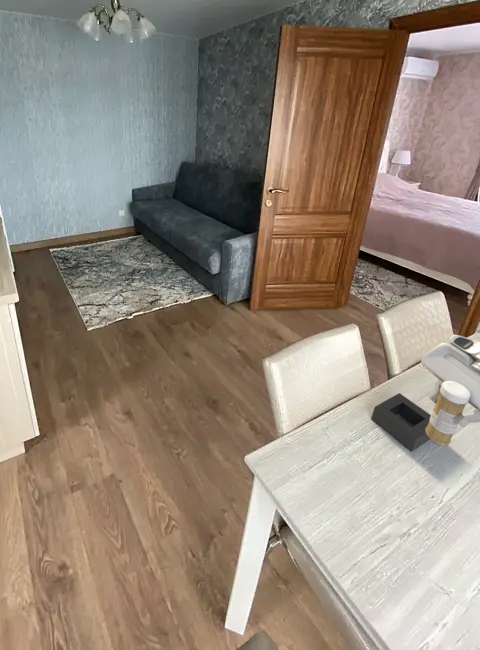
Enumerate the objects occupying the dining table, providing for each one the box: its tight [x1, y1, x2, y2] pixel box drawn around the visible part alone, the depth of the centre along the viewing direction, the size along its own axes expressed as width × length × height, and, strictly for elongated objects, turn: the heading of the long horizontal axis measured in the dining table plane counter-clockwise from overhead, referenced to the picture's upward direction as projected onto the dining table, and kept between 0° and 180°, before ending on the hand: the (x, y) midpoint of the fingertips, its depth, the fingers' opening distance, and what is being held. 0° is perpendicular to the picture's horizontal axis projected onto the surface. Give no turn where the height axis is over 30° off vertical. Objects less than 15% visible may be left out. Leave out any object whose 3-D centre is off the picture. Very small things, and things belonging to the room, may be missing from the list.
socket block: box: [370, 392, 431, 453], centre depth 92 cm, size 11×11×4 cm
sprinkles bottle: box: [425, 381, 470, 446], centre depth 71 cm, size 5×5×13 cm
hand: (444, 411), depth 71 cm, fingers closed on sprinkles bottle, 4 cm apart
